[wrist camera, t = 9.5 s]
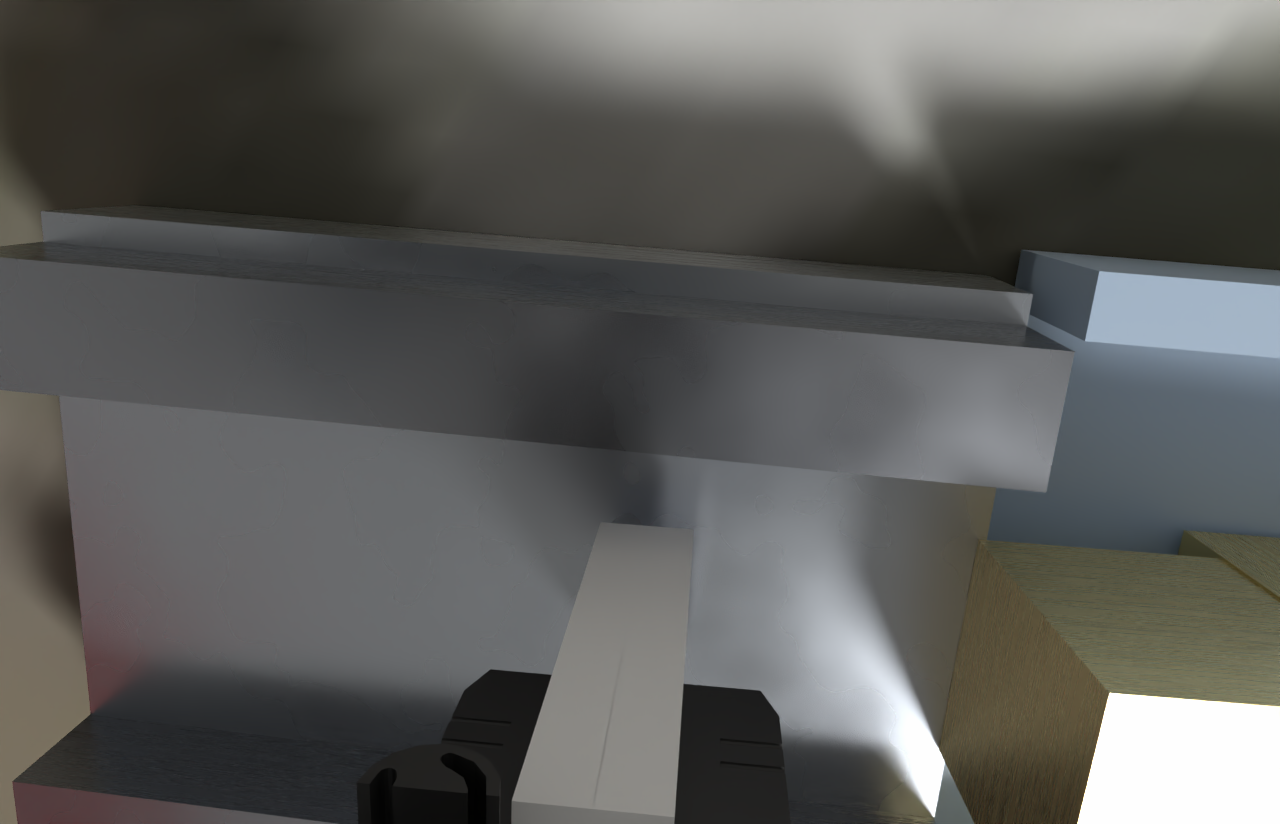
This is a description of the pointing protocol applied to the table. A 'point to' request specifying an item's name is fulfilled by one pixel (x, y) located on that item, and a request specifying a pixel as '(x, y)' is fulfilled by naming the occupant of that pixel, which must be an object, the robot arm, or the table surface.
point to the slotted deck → (499, 491)
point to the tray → (1150, 411)
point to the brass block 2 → (1239, 555)
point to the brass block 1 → (1114, 690)
